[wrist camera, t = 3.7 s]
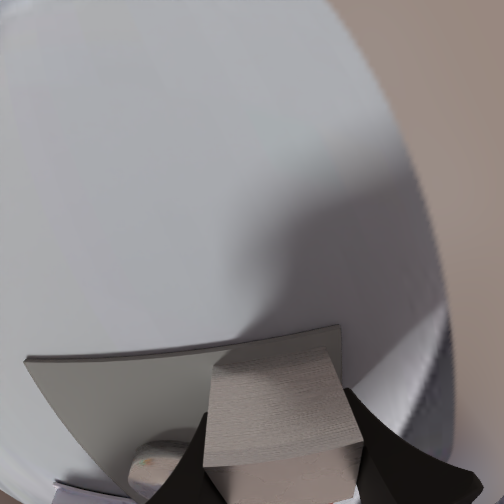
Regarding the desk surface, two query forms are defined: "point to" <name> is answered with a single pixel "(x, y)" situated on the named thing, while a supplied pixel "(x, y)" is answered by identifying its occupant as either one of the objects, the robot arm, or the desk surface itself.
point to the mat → (150, 394)
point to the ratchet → (154, 465)
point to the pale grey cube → (281, 431)
